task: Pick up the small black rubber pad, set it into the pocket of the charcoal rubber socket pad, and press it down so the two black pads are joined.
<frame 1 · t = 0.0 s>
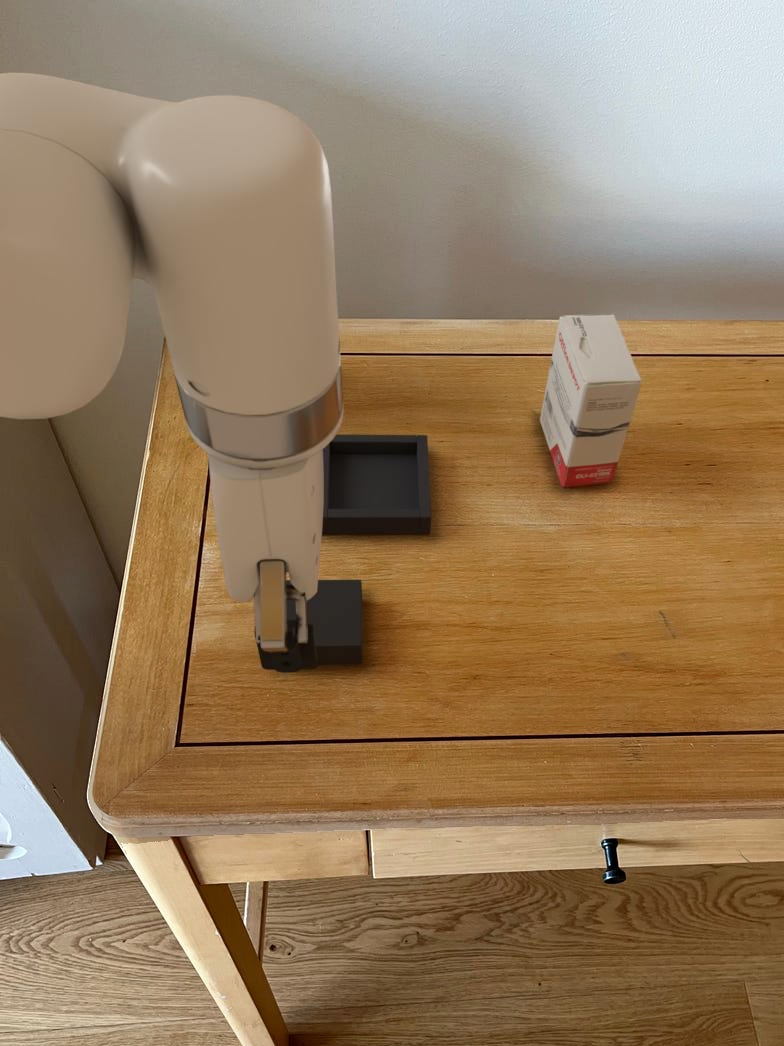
hand: (293, 598, 60), 13 cm above the table, tool pointing down, fingers open, 9 cm apart
ink box: (575, 452, 86), on the table
socket pad: (374, 493, 82), on the table
cup: (285, 394, 87), on the table
black pad: (322, 631, 74), on the table
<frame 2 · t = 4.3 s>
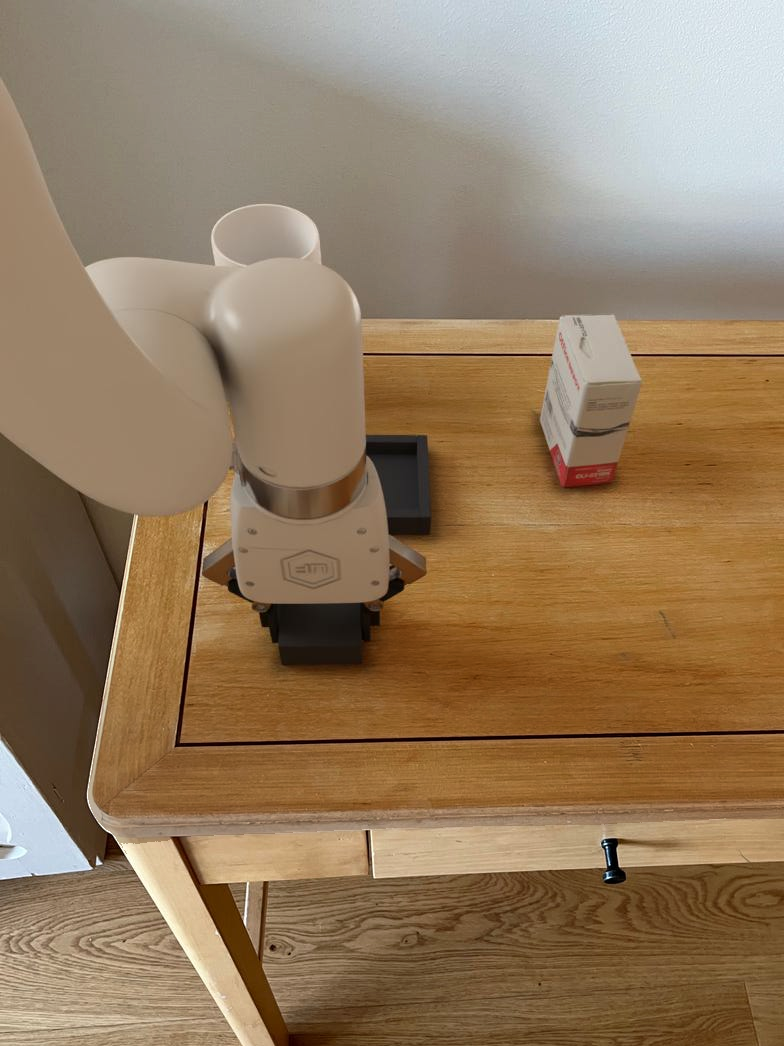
hand: (322, 625, 73), 1 cm above the table, tool pointing down, fingers closed on black pad, 6 cm apart
black pad: (322, 631, 74), on the table, touching gripper
everything else where it was.
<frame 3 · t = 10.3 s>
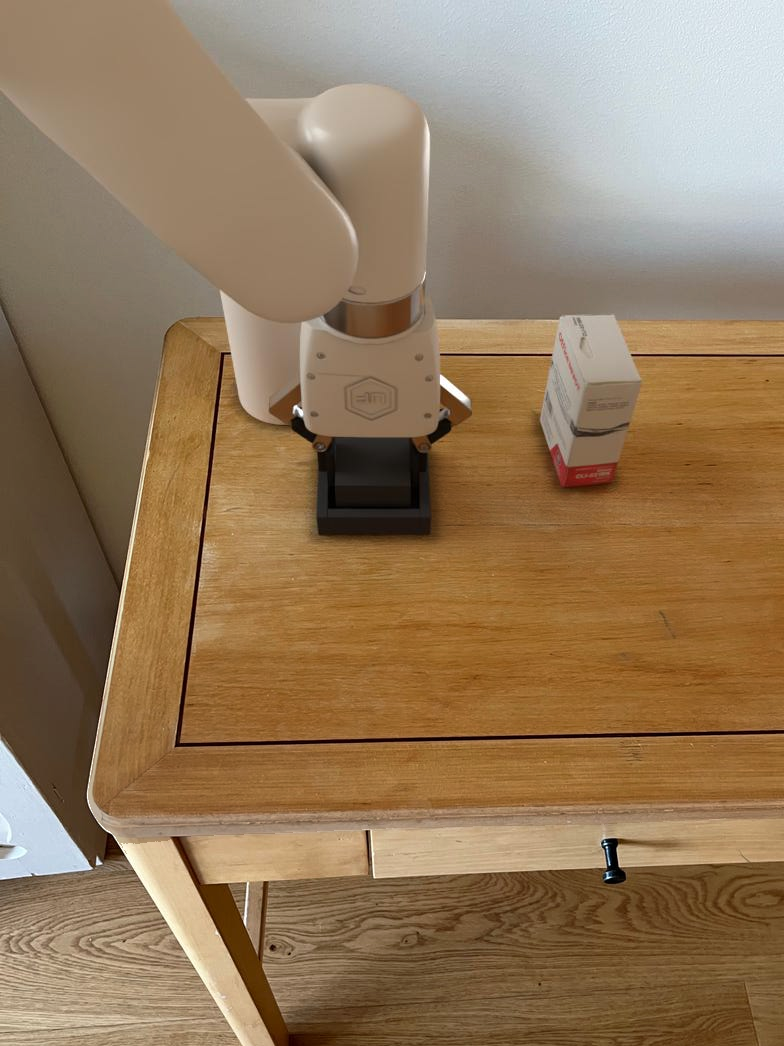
hand: (373, 473, 79), 3 cm above the table, tool pointing down, fingers closed on black pad, 6 cm apart
black pad: (373, 479, 80), point 2 cm above the table, touching gripper
everything else where it was.
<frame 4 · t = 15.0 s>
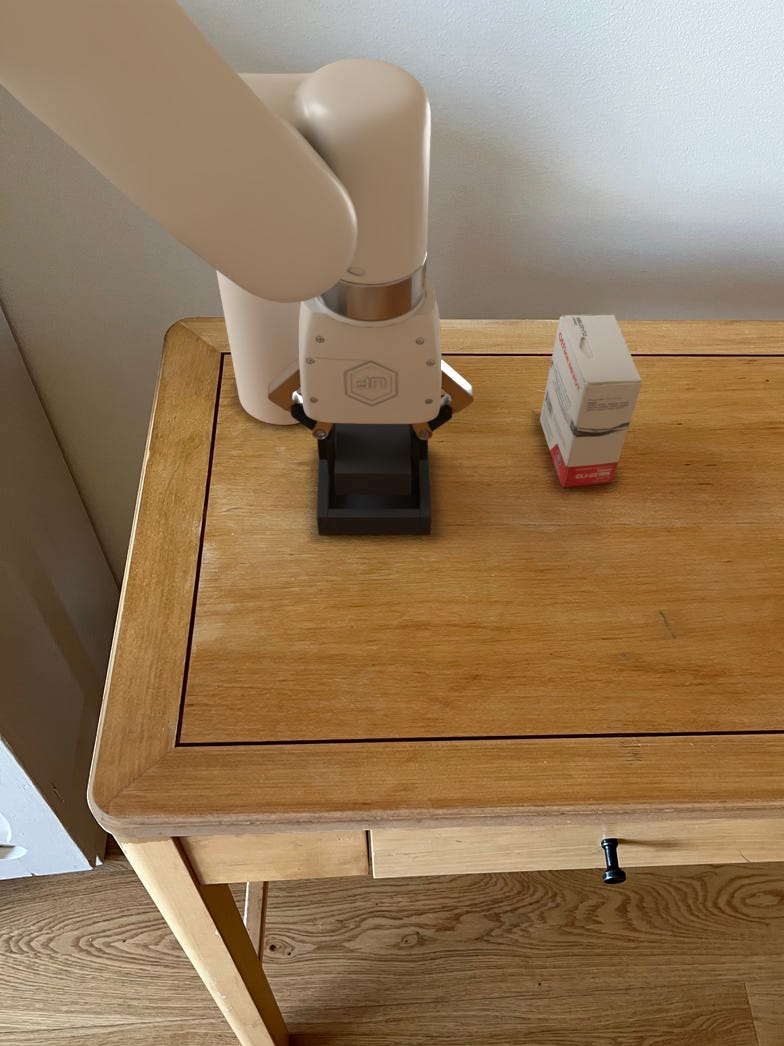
hand: (373, 461, 78), 4 cm above the table, tool pointing down, fingers closed on black pad, 5 cm apart
black pad: (373, 467, 79), point 3 cm above the table, touching gripper
everything else where it was.
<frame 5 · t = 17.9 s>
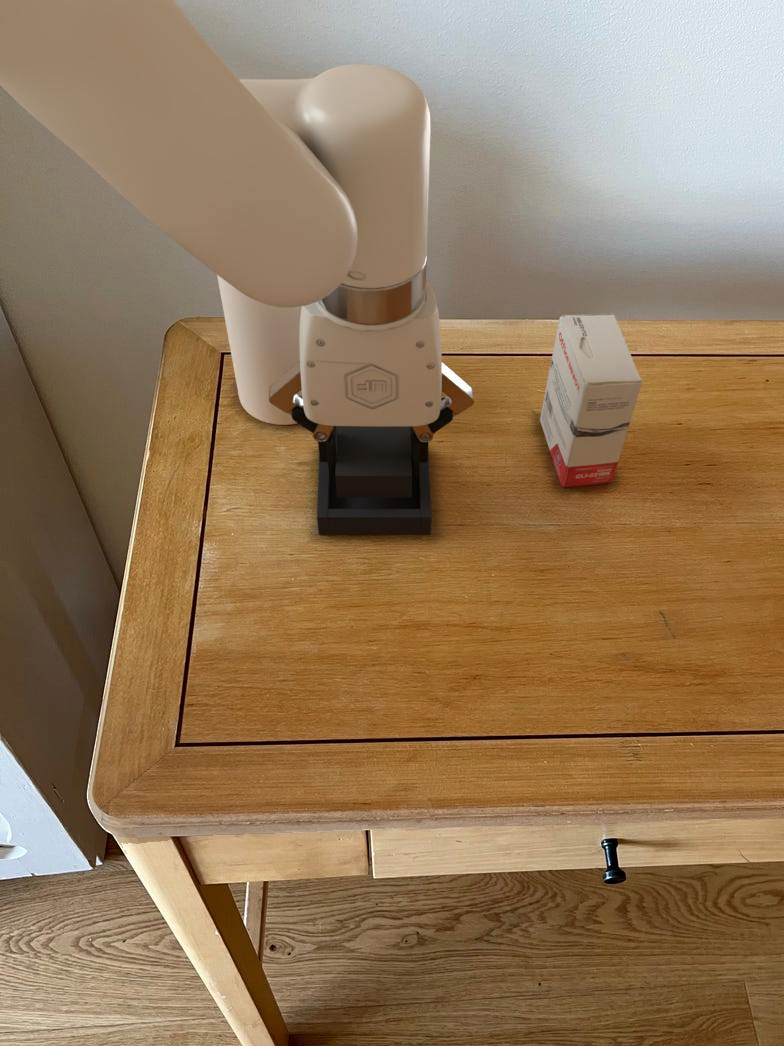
hand: (374, 463, 79), 4 cm above the table, tool pointing down, fingers closed on black pad, 5 cm apart
black pad: (374, 470, 79), point 3 cm above the table, touching gripper
everything else where it was.
when the fingers open (4 cm above the table, at t = 20.4 s): black pad drops 2 cm, resting on socket pad.
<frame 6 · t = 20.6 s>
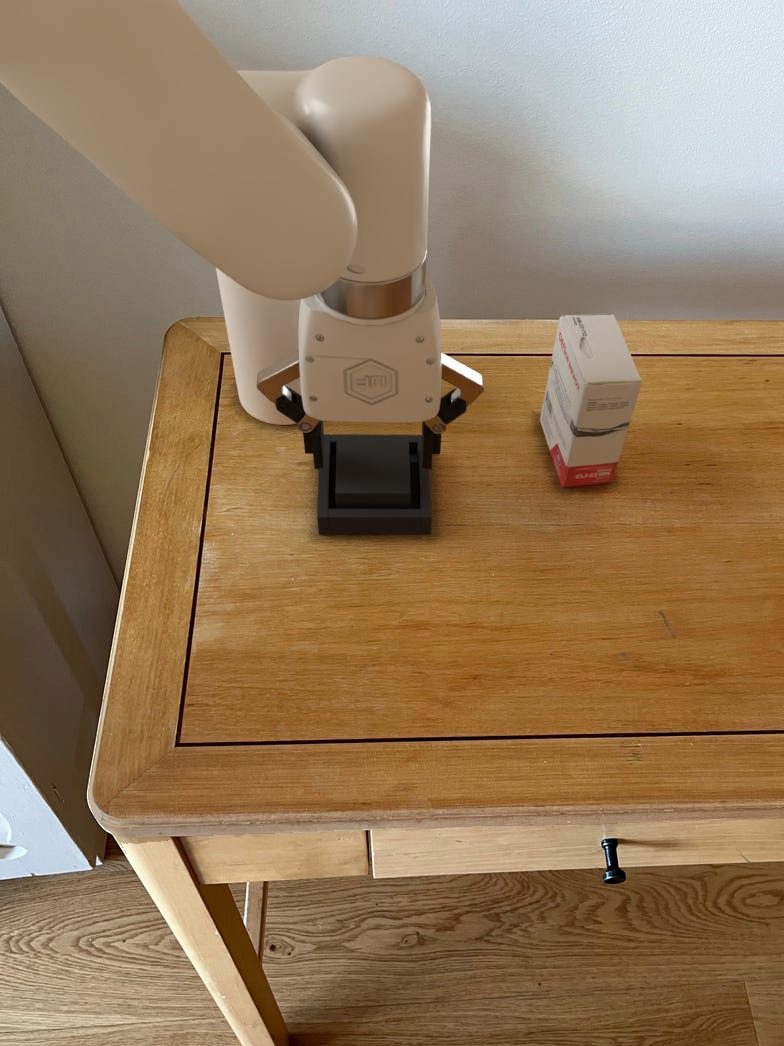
hand: (373, 456, 78), 4 cm above the table, tool pointing down, fingers open, 8 cm apart
socket pad: (374, 492, 82), on the table, touching black pad
black pad: (373, 486, 81), point 1 cm above the table, touching socket pad
everything else where it was.
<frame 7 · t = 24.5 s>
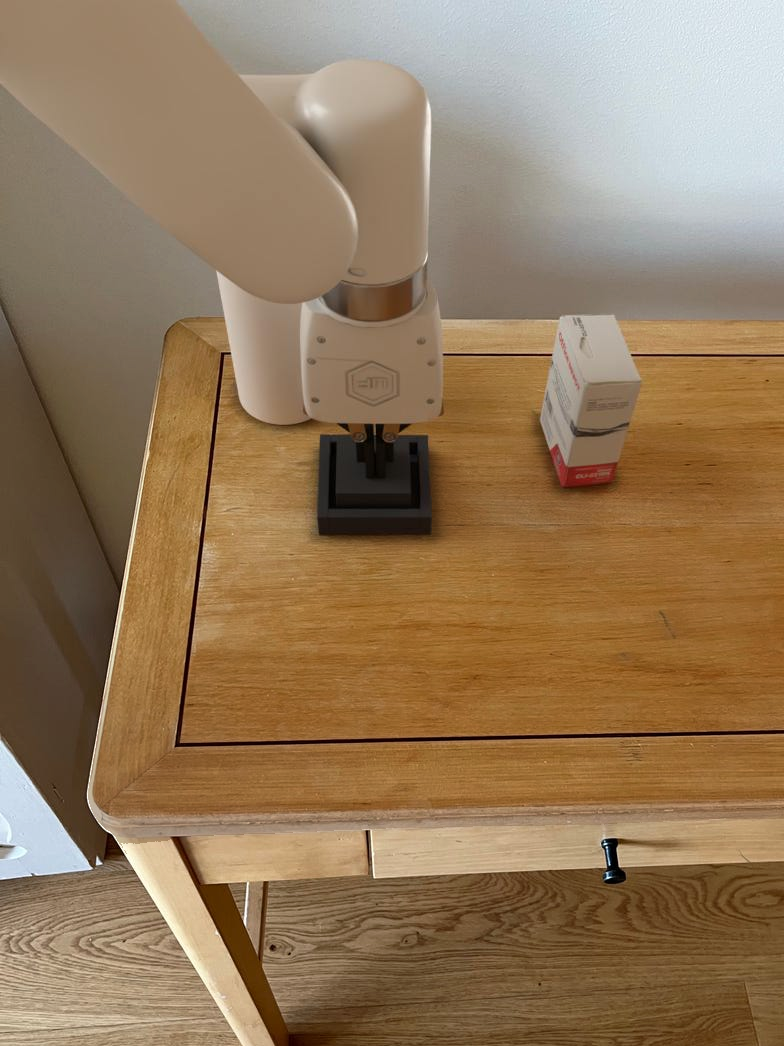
hand: (375, 464, 79), 3 cm above the table, tool pointing down, fingers closed
black pad: (373, 487, 81), point 1 cm above the table, touching gripper, socket pad
everything else where it was.
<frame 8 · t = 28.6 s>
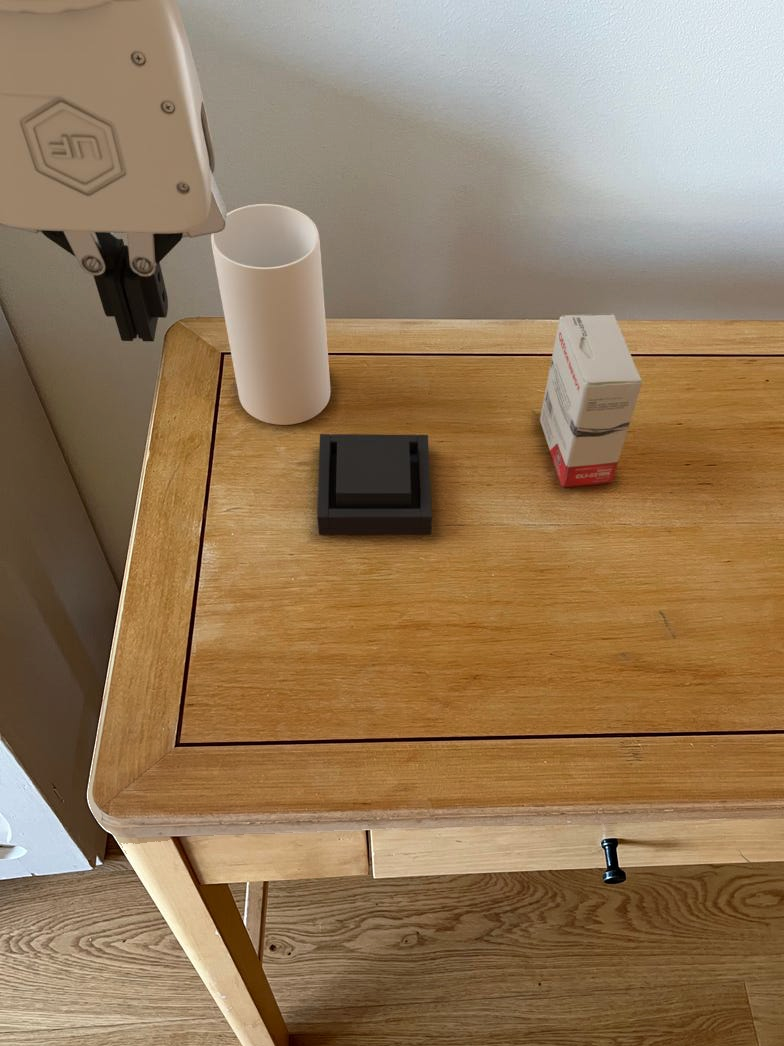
hand: (141, 323, 51), 27 cm above the table, tool pointing down, fingers closed
black pad: (373, 486, 81), point 1 cm above the table, touching socket pad
everything else where it was.
at the end: black pad 0.1 cm off-centre on the socket pad, point 0.8 cm above the socket pad's base; black pad tilted 0°; the gripper is holding nothing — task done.
